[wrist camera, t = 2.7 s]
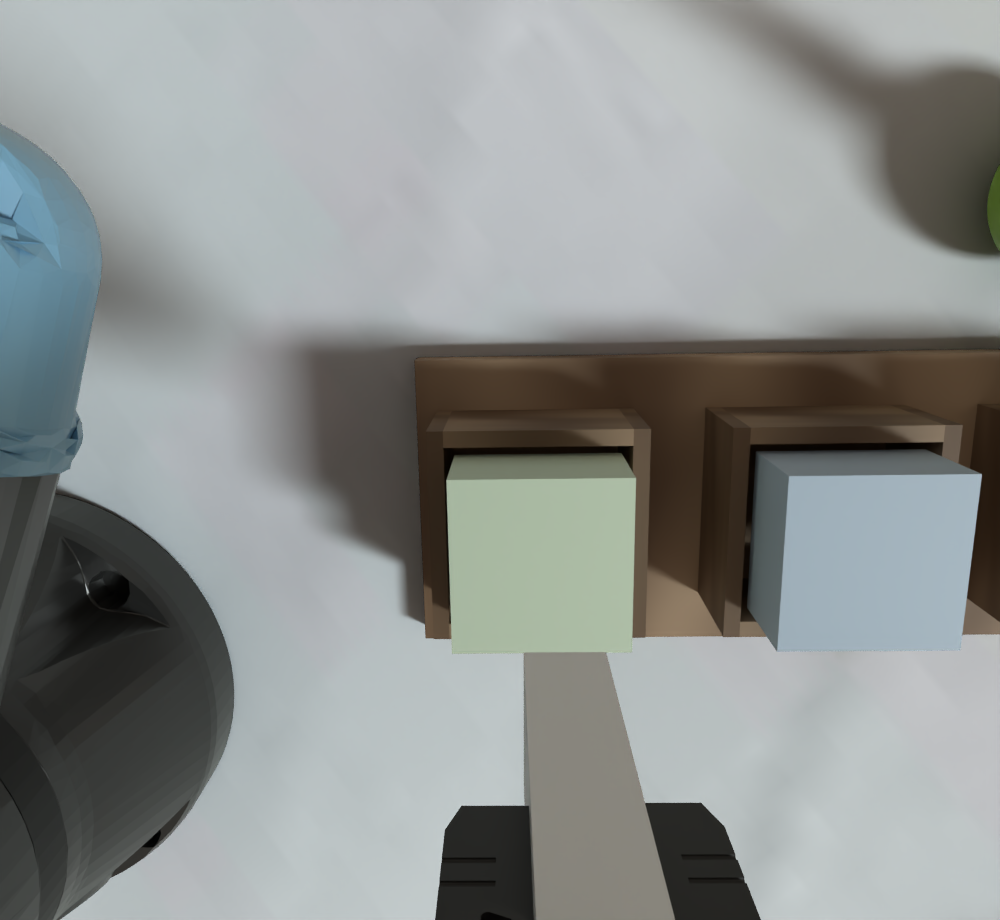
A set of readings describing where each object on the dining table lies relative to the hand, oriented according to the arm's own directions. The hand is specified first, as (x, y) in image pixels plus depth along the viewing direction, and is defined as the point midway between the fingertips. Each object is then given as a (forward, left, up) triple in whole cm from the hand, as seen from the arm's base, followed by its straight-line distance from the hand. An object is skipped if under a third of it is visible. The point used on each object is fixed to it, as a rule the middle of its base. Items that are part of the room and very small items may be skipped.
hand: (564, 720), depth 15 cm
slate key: (+9, 0, -10) cm, 14 cm away
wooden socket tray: (+9, 0, -14) cm, 17 cm away
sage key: (0, 0, -10) cm, 10 cm away
